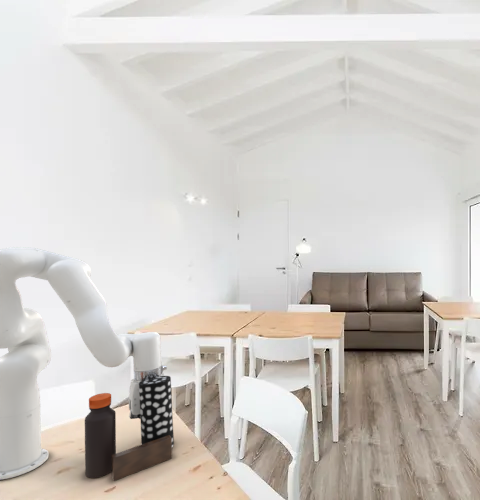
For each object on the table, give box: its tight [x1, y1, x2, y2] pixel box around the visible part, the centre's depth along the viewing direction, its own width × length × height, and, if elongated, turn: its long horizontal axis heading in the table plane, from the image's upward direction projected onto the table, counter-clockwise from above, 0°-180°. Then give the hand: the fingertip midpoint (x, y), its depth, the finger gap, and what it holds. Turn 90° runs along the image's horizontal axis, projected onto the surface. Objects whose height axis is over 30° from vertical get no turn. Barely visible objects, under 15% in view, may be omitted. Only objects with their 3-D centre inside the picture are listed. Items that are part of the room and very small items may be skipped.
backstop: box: [111, 435, 173, 482], centre depth 96 cm, size 14×2×6 cm, turn 134°
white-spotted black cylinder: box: [139, 375, 175, 448], centre depth 105 cm, size 8×8×20 cm
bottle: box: [84, 392, 117, 479], centre depth 95 cm, size 7×7×20 cm
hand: (150, 431), depth 110 cm, fingers closed
